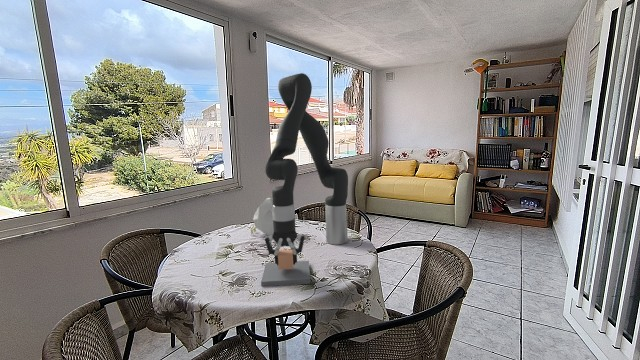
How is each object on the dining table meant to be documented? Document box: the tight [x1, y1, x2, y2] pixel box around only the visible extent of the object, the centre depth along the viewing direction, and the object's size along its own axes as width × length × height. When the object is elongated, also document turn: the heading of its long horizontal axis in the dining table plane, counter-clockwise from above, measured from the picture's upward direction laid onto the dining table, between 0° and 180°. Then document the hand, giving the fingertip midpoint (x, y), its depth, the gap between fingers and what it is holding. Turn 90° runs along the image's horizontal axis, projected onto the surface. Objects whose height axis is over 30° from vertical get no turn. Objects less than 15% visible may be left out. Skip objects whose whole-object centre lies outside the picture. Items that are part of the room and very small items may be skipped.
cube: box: [278, 248, 294, 269], centre depth 104 cm, size 5×5×5 cm
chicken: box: [250, 197, 274, 236], centre depth 144 cm, size 7×19×20 cm
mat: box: [260, 260, 311, 287], centre depth 105 cm, size 16×14×2 cm
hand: (286, 263), depth 104 cm, fingers closed on cube, 5 cm apart
